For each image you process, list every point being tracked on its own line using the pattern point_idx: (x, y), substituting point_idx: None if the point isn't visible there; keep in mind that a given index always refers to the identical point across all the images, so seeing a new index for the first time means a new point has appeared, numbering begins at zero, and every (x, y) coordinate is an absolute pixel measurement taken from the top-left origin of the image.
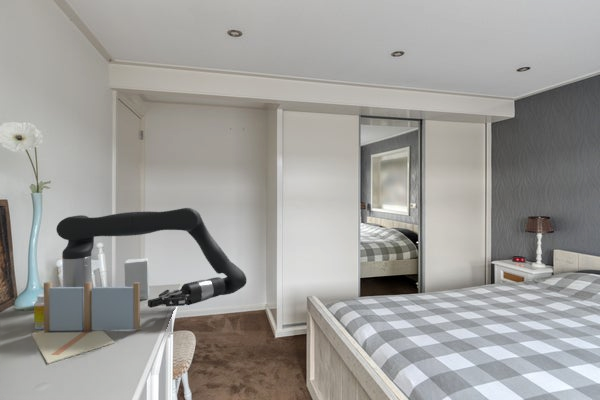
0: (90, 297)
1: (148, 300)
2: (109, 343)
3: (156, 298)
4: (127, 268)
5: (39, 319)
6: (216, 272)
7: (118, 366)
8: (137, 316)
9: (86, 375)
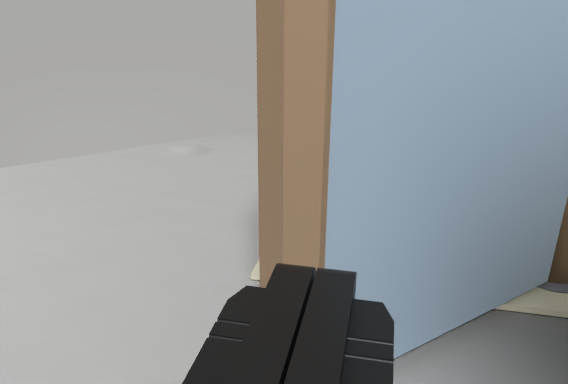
0: None
1: (351, 271)
2: (258, 260)
3: (312, 353)
4: None
5: None
6: None
7: (35, 220)
8: (264, 277)
9: (114, 182)
